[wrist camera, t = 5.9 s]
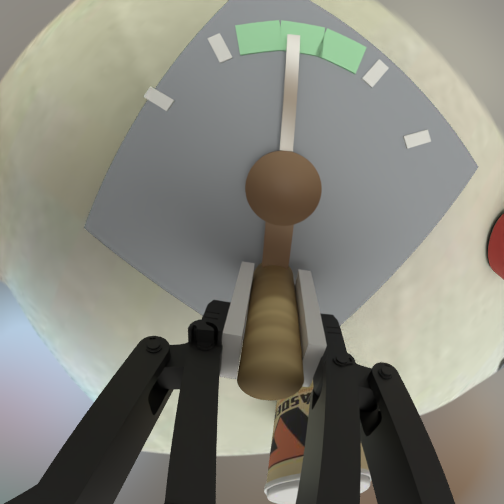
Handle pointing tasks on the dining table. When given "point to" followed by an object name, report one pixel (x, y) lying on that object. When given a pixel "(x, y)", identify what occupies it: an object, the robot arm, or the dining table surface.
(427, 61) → the dining table surface
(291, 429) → the coffee cup
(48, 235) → the dining table surface
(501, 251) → the beer can
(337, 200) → the board
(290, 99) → the peg dial
